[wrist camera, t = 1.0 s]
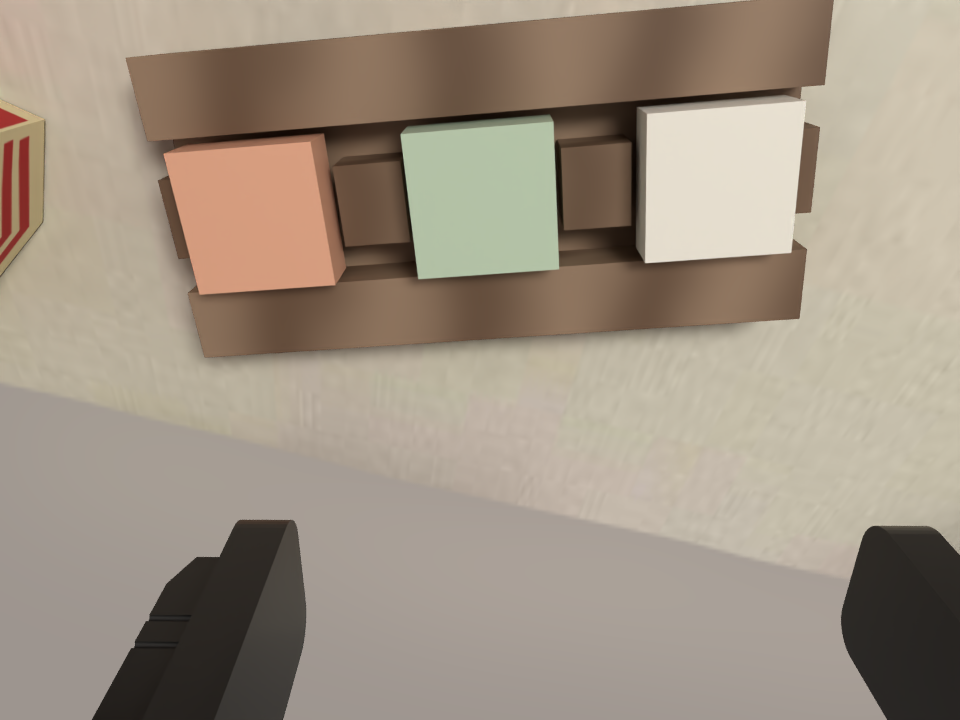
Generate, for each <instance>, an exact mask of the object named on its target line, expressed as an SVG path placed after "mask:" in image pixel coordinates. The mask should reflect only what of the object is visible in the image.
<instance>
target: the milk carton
mask: <svg viewBox="0 0 960 720" xmlns="http://www.w3.org/2000/svg"><path fill="white" fill-rule="evenodd" d="M44 121H45V119H43V118H40V117H38V116H36V115H34V114H31V113H29V112H27V111H25V110H22V109H20V108H18V107H16V106H14V105H11V104H9V103H7V102H5V101H2V100H0V275H1V274H2V273H3V272H4V270H5V269H6V268H7V267H8V265H9V264H10V263H11V261H12V260H13V259H14V258H15V256H16V255H17V254H18V253H19V251H20V250H21V249H22V247H23V246H24V245H25V244H26V242H27V241H28V240H29V238H30V237H31V236H32V235H33V233H34V232H35V231H36V230H37V228H38V227H39V226H40V224H41V223H42V222H43V178H44Z"/></svg>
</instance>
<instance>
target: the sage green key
mask: <svg viewBox="0 0 960 720" xmlns="http://www.w3.org/2000/svg"><path fill="white" fill-rule="evenodd" d="M400 135H401V143H402V151H403V159H404V167H405V175H406V183H407V191H408V199H409V208H410V216H411V224H412V232H413V240H414V248H415V256H416V264H417V272H418V279H429V278H444V277H458V276H472V275H486V274H500V273H514V272H529V271H543V270H557V269H559V252H558V227H557V201H556V176H555V150H554V124H553V120H552V118H551V116H550V114H547V115H534V116H522V117H510V118H498V119H486V120H474V121H462V122H450V123H438V124H426V125H414V126H407V127H406V128H405V130H404V131H403V132H402V133H401V134H400Z"/></svg>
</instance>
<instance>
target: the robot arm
mask: <svg viewBox="0 0 960 720" xmlns="http://www.w3.org/2000/svg"><path fill="white" fill-rule="evenodd" d="M841 626H842V634H843V638H844V642H845V645H846V649H847V651H848V653H849V655H850V657H851V659H852V661H853V662H854V664H855V666H856V668H857V669H858V671H859V673H860V674H861V676H862V678H863V679H864V681H865V683H866V684H867V686H868V688H869V690H870V691H871V693H872V695H873V696H874V698H875V700H876V701H877V703H878V705H879V707H880V708H881V710H882V712H883V713H884V715H885V717H886V718H887V720H960V555H959V554H958V553H957V552H956V551H955V549H954V548H953V547H952V546H951V545H950V544H949V543H948V542H947V541H946V539H945V538H944V537H943V536H942V535H941V534H940V533H939V532H938V531H937V530H935V529H934V528H931V527H929V526H872V527H870V528H869V529H868V530H867V531H866V532H865V534H864V536H863V538H862V541H861V545H860V548H859V552H858V555H857V559H856V562H855V566H854V569H853V573H852V576H851V580H850V583H849V587H848V590H847V594H846V597H845V601H844V604H843V608H842V615H841ZM305 627H306V602H305V592H304V583H303V574H302V565H301V557H300V548H299V539H298V531H297V527H296V524H295V522H294V521H293V520H239V521H238V522H237V523H236V524H235V526H234V528H233V530H232V532H231V534H230V536H229V538H228V540H227V542H226V544H225V547H224V549H223V551H222V553H221V555H220V557H196V558H195V559H194V560H193V561H192V562H191V563H190V564H188V565H187V566H186V567H185V568H184V569H183V570H182V571H180V572H179V574H177V575H176V576H175V577H174V578H173V579H171V581H169V582H168V583H167V584H166V586H165V588H164V590H163V591H162V593H161V595H160V597H159V599H158V600H157V603H156V604H155V606H154V608H153V610H152V611H151V613H150V619H149V621H146V622H145V624H144V626H143V628H142V630H141V631H140V633H139V635H138V637H137V639H136V640H135V647H134V648H131V650H130V651H129V653H128V655H127V657H126V659H125V661H124V662H123V664H122V666H121V668H120V670H119V671H118V673H117V675H116V677H115V679H114V680H113V682H112V684H111V686H110V688H109V690H108V691H107V693H106V695H105V697H104V699H103V700H102V702H101V704H100V706H99V708H98V710H97V711H96V713H95V715H94V717H93V719H92V720H283V718H284V714H285V711H286V707H287V703H288V700H289V696H290V692H291V689H292V685H293V681H294V678H295V674H296V671H297V667H298V663H299V660H300V656H301V653H302V648H303V643H304V637H305Z"/></svg>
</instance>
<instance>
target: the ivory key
mask: <svg viewBox="0 0 960 720" xmlns="http://www.w3.org/2000/svg"><path fill="white" fill-rule="evenodd" d="M805 108H806V101H805V100H802V99H798V98H794V97H791V96H787V95H775V96H763V97H751V98H739V99H727V100H715V101H703V102H691V103H679V104H667V105H655V106H643V107H637V133H636V248H637V250H638V252H639V253H640V255H641V257H642V259H643V260H644V262H645V263H656V262H670V261H684V260H699V259H713V258H727V257H741V256H755V255H769V254H783V253H791V251H792V241H793V230H794V220H795V210H796V200H797V190H798V180H799V169H800V159H801V149H802V139H803V129H804V119H805Z"/></svg>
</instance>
